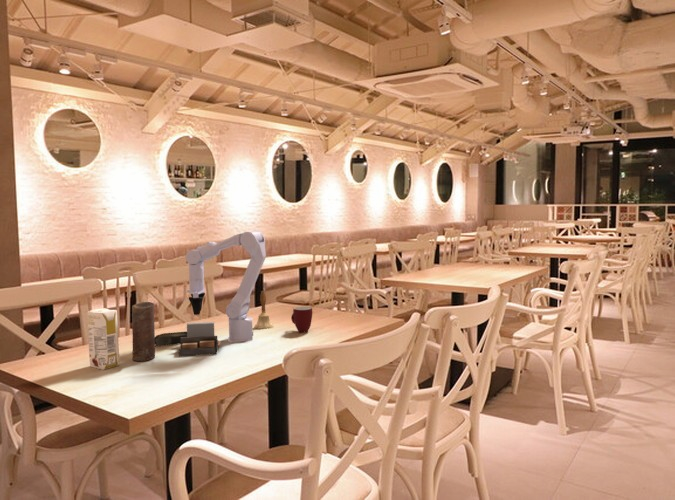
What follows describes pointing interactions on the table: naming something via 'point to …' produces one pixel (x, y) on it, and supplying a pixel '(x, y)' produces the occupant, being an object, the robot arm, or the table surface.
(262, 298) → the hand bell
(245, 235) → the robot arm
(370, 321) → the table surface
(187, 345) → the offcut
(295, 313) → the mug
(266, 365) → the table surface
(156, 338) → the mobile phone
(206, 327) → the grey flat block
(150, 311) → the candle
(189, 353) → the rack
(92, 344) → the juice carton
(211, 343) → the offcut
